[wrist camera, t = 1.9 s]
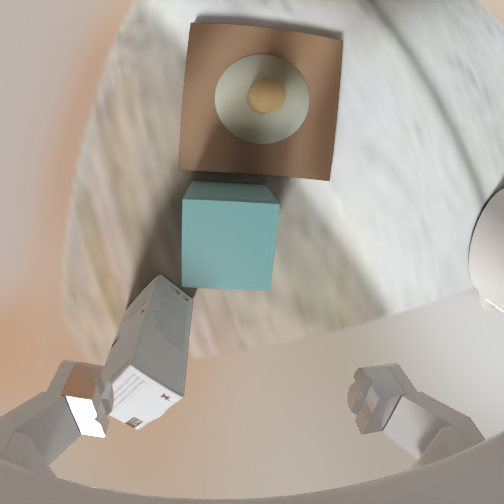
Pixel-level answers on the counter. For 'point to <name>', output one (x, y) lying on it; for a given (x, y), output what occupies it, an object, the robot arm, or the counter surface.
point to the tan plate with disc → (259, 101)
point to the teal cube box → (228, 235)
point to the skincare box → (150, 353)
